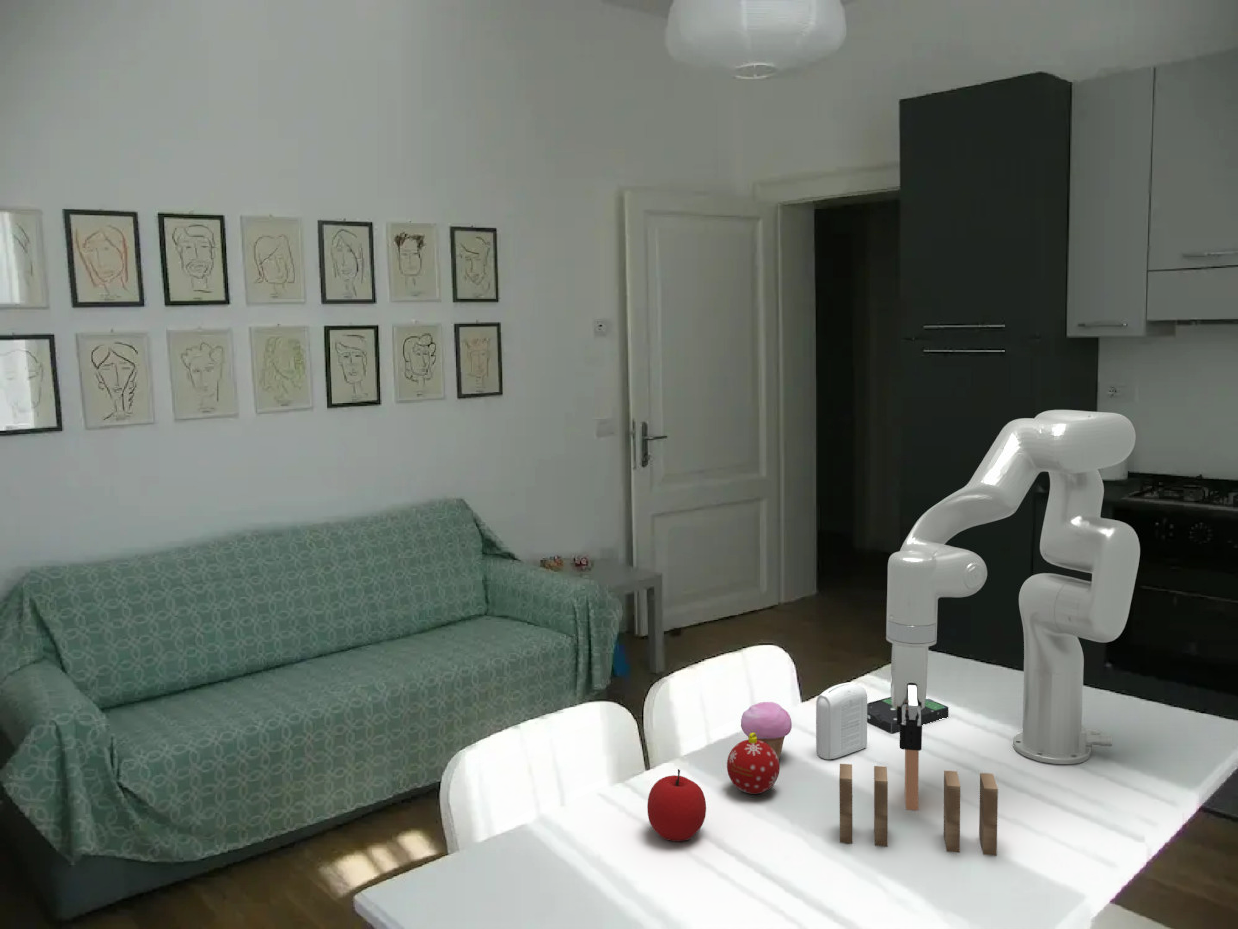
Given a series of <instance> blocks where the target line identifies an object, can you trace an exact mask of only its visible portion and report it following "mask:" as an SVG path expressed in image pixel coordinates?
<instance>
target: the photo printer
mask: <svg viewBox="0 0 1238 929" xmlns="http://www.w3.org/2000/svg"><path fill="white" fill-rule="evenodd" d="M867 693H868V692H867V690H866V688H865V687H864V686H863V685H862V684H859V683H855V682H844V683H838V684H836V685H833V686H831V687H829V688H827V689H825V690H824V691H822V693H820V694H819V695H818V696H817V698H816V701H815V703H816V704H815V706H816V707H815V714H816V715H815V716H816V718H815V729H816V730H815V733H816V735H815V746H816V747H815V750H816V753H817V755H818V757H819V758H822V759H824V760H828V761H829V760H832V759H838V758H841V757H844V756H846V755H850V754H852V753H854V752H858V751H860V750H864V749H865V748H867V745H868V723H867V703H868V694H867Z"/></svg>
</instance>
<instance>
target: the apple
mask: <svg viewBox="0 0 1238 929" xmlns="http://www.w3.org/2000/svg"><path fill="white" fill-rule="evenodd" d="M680 774H681V769H679V768H677V775H675V774H674V775H668V776H664V777H662V778H660V779H658V780H657V781H656V782H655V783H654V784H653V785H652V787H651V789H650V790H649V794H648V798H647V806H646V807H647V817H648V822H649V825H651V828H652V829H653V830H654V831H655V832H656V833H657V835H658V836H659V837H661V838H662V839H664V840H668V841H672V842H673V841H674V842H683V841H688V840H689V839H691V838H693V836H695V835H696V834H697V832H698V831H700V829H701V827H702V826H703V824H704V822H705V819H706V815H707V814H706V813H707V804H706V803H707V802H706V797H705V795H704V792H703V789H702V788H701V786H699V784H697V783H696V782H694V781H693V780H692V779H689V778H687V777H685V776H684V775H683V776H682V775H680Z"/></svg>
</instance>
